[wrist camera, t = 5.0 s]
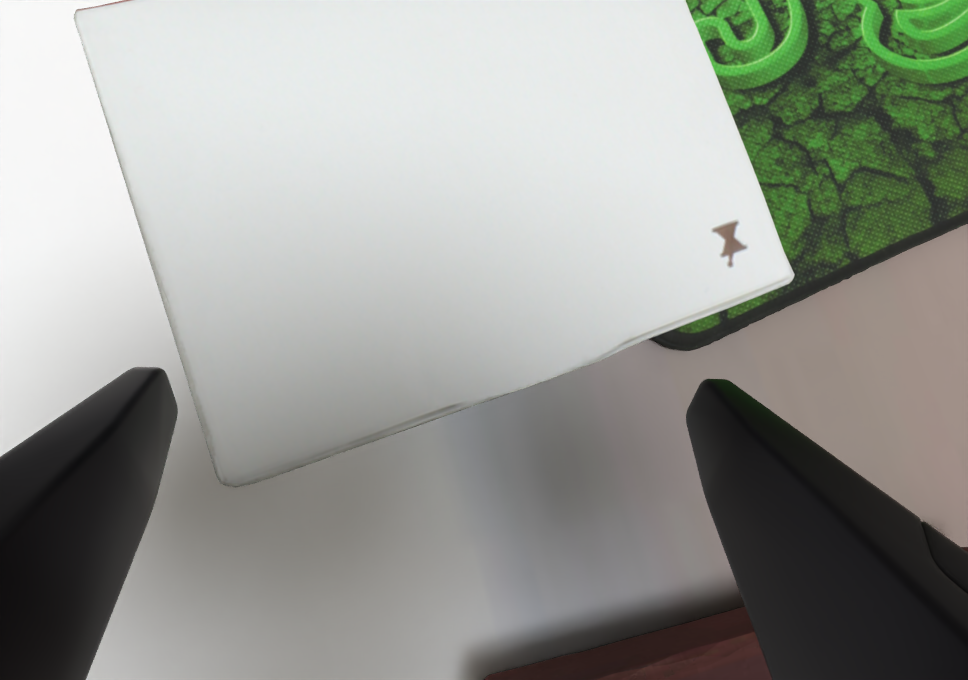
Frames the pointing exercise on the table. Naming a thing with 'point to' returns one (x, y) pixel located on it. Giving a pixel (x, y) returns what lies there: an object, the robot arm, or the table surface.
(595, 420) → the table surface
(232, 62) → the small box
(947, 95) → the mouse mat
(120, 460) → the robot arm
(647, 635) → the book
